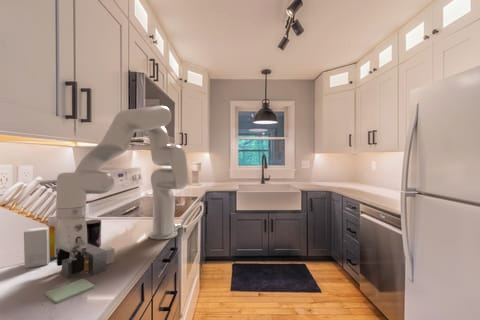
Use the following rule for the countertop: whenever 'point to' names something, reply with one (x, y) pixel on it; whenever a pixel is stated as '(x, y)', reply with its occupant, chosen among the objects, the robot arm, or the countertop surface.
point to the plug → (85, 263)
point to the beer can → (53, 235)
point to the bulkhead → (95, 259)
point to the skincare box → (36, 247)
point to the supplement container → (94, 232)
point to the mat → (69, 290)
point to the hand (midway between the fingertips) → (70, 268)
